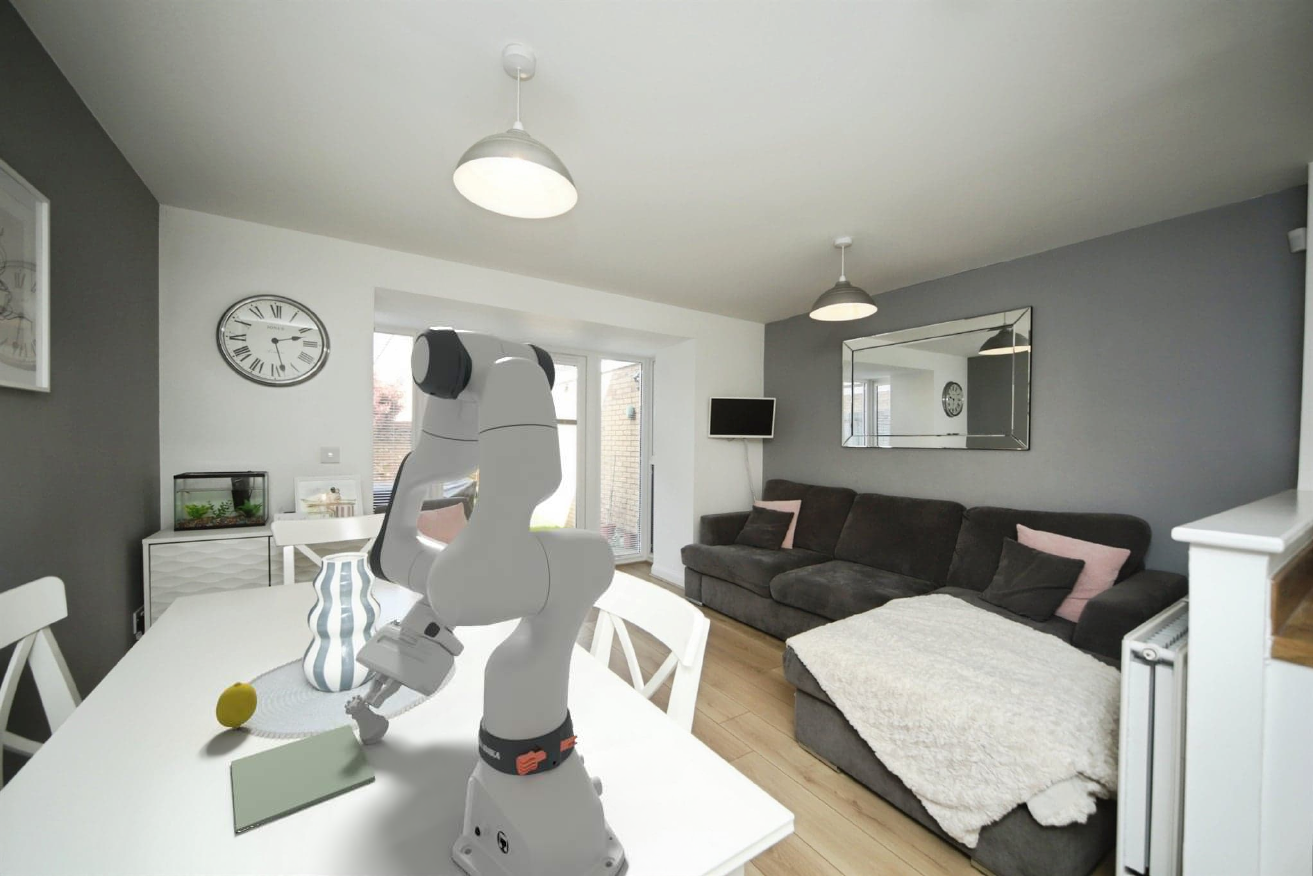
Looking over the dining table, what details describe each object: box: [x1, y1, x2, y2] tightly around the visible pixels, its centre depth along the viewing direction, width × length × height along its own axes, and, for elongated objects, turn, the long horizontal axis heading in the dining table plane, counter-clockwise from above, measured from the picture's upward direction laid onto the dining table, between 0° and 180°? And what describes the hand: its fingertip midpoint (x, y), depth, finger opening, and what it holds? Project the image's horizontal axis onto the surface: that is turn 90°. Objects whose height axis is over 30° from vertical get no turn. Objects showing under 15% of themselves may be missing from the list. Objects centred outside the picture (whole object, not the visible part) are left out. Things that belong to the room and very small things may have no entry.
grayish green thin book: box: [230, 724, 376, 833], centre depth 76 cm, size 18×16×1 cm
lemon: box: [215, 681, 258, 730], centre depth 87 cm, size 6×6×8 cm
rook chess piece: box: [344, 694, 390, 745], centre depth 84 cm, size 4×4×8 cm
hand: (369, 705), depth 84 cm, fingers closed, pressing on rook chess piece
